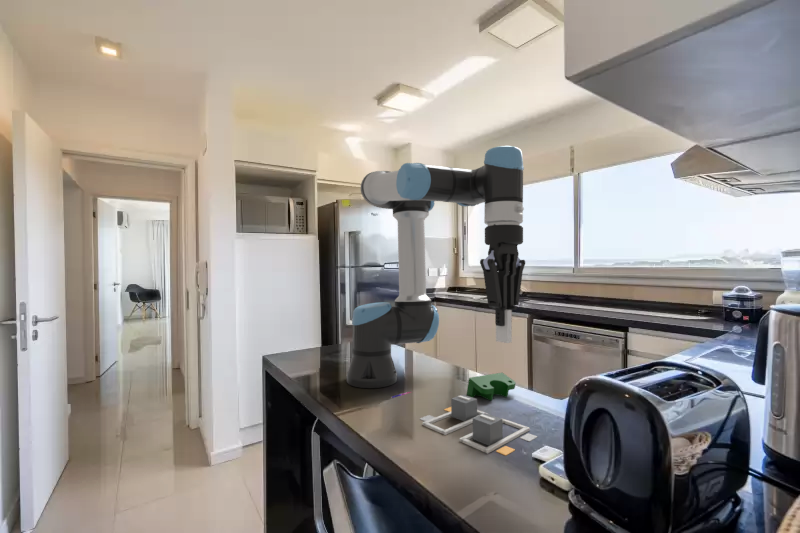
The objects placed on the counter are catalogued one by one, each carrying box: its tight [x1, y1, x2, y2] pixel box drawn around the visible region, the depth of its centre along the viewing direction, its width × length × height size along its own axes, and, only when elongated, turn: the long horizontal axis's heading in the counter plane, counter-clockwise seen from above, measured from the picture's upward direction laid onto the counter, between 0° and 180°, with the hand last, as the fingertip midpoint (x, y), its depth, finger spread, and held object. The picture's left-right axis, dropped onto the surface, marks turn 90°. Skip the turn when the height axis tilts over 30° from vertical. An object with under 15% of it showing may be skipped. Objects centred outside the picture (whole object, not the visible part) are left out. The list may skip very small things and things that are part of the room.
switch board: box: [419, 406, 539, 457], centre depth 78 cm, size 24×18×2 cm
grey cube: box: [472, 412, 504, 447], centre depth 72 cm, size 4×4×4 cm
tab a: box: [450, 394, 478, 422], centre depth 83 cm, size 4×4×4 cm
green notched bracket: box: [466, 372, 516, 401], centre depth 97 cm, size 12×6×9 cm, turn 111°
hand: (503, 341), depth 76 cm, fingers closed
